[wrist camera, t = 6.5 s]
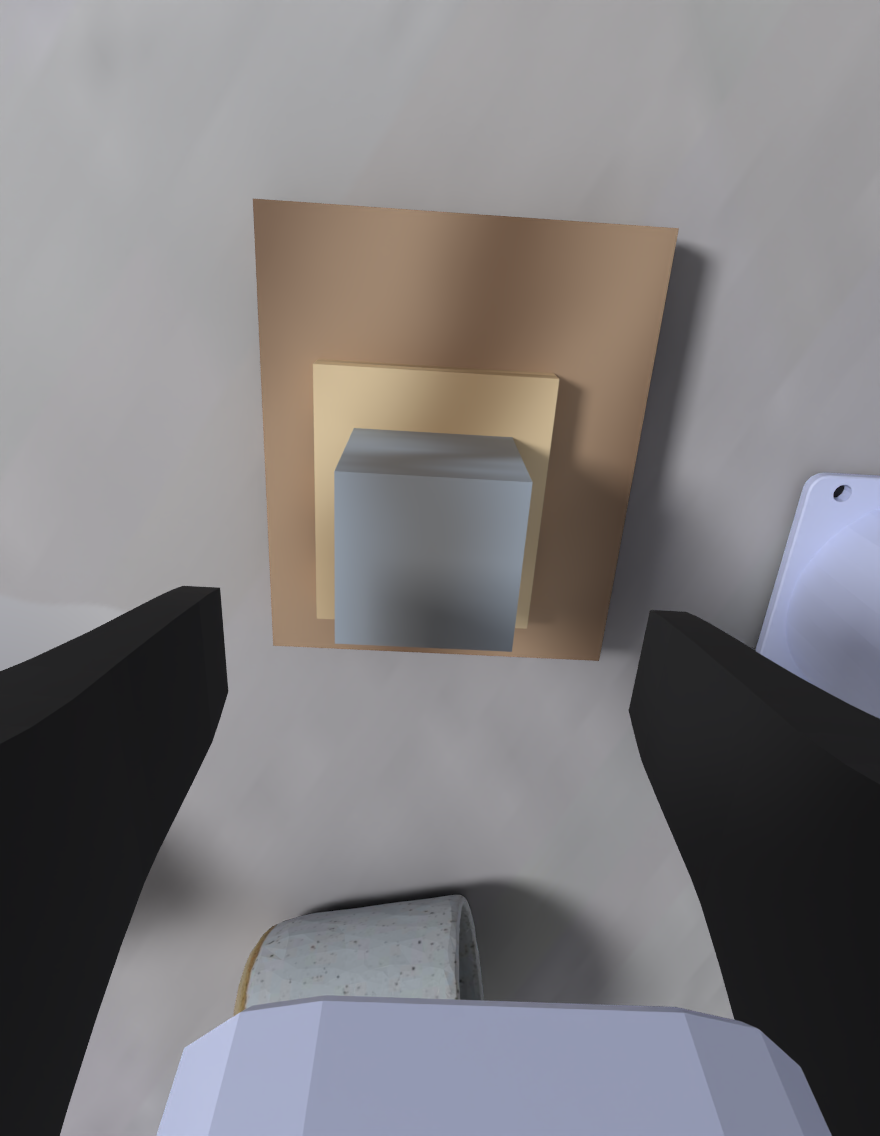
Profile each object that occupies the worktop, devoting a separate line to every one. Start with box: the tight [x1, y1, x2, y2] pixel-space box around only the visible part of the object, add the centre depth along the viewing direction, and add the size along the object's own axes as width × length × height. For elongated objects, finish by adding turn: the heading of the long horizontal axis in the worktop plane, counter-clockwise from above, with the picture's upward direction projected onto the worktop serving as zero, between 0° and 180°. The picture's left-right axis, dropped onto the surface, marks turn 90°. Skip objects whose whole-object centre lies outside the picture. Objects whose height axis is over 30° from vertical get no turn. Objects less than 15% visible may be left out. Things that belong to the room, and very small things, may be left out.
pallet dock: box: [253, 199, 679, 661], centre depth 19 cm, size 10×12×2 cm
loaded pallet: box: [313, 359, 559, 652], centre depth 17 cm, size 6×7×5 cm
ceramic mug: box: [234, 895, 484, 1016], centre depth 25 cm, size 11×8×8 cm
